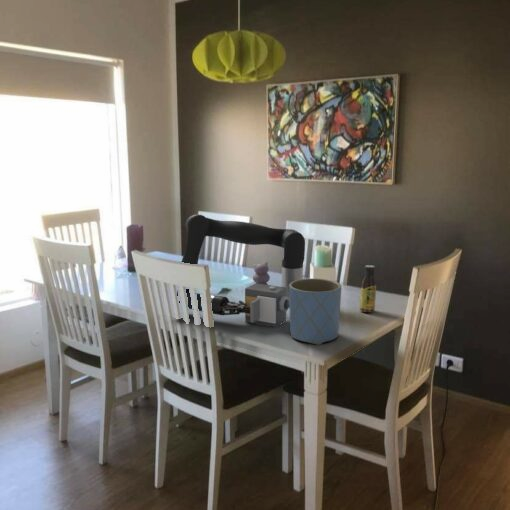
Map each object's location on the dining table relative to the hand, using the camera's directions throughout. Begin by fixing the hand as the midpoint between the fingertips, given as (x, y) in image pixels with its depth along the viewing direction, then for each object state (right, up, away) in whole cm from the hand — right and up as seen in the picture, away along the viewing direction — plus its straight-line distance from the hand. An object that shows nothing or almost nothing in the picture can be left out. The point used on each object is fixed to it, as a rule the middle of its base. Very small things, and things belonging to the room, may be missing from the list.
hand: (252, 310), depth 215 cm
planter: (+23, -9, -8) cm, 26 cm away
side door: (+4, -5, 0) cm, 6 cm away
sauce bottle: (+49, -3, +21) cm, 53 cm away
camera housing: (+6, -5, +8) cm, 12 cm away
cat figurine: (+4, +6, +60) cm, 61 cm away
